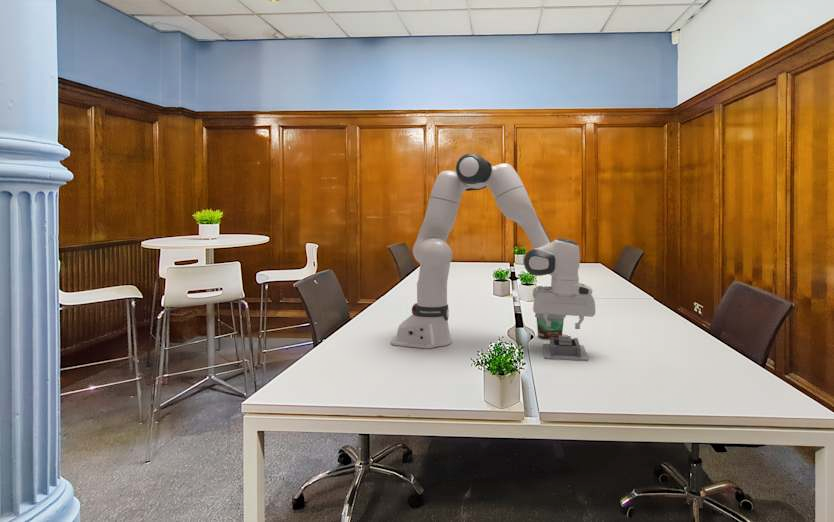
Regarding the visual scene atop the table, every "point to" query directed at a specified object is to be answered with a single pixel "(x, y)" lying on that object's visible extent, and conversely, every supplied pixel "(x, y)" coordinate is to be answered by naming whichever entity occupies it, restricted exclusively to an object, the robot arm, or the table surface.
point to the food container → (555, 325)
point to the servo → (564, 340)
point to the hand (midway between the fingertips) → (562, 327)
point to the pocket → (564, 351)
